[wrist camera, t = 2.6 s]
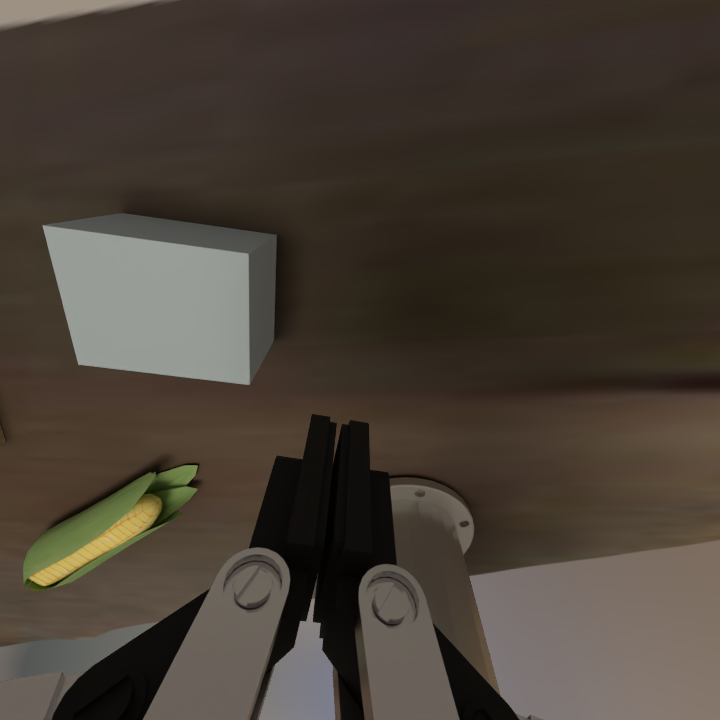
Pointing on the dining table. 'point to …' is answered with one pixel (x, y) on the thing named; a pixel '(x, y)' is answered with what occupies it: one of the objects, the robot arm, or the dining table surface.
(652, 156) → the dining table surface
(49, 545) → the edible corn
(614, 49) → the dining table surface
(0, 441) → the board
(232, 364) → the block
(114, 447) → the dining table surface
